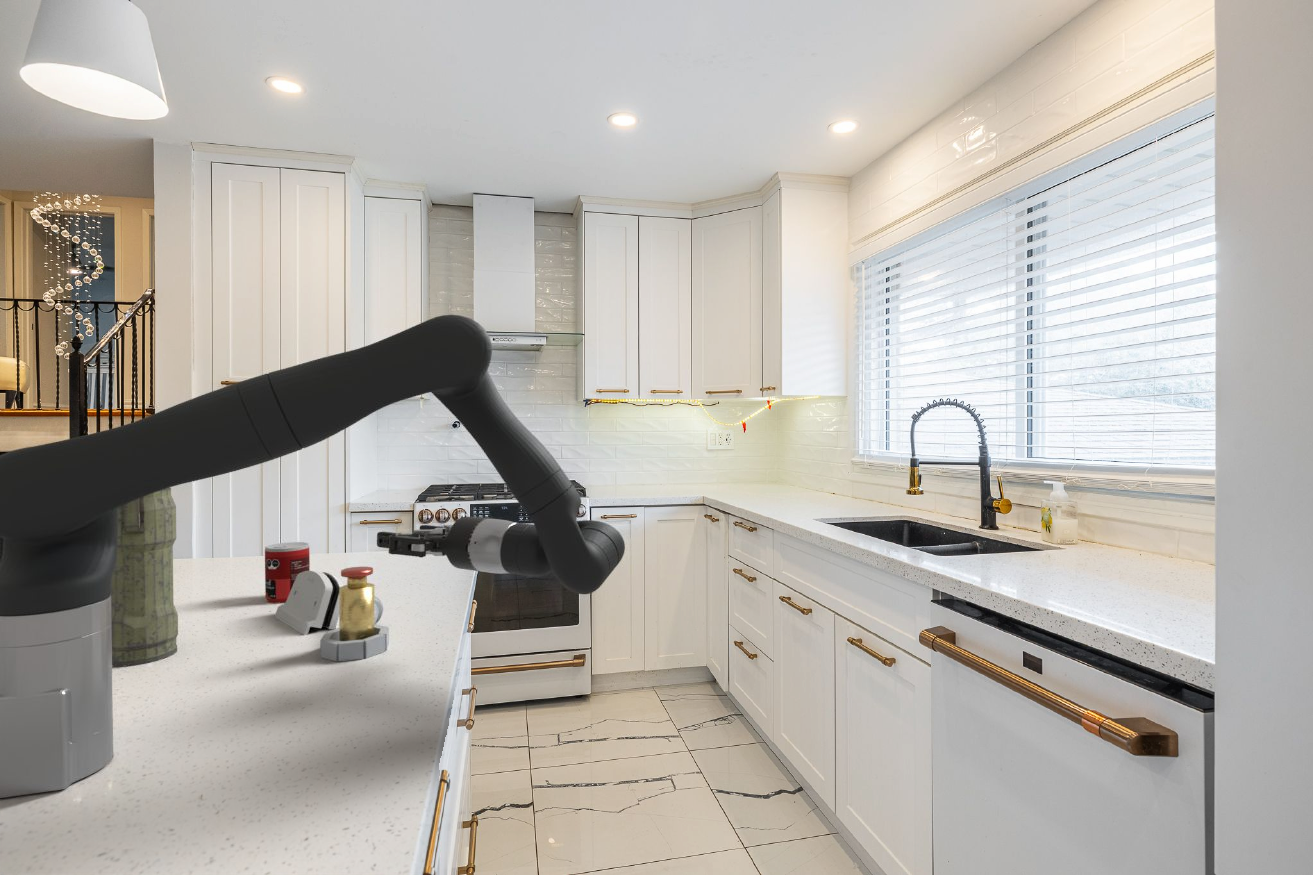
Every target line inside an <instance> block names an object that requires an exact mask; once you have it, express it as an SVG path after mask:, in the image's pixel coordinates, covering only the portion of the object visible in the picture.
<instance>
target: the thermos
mask: <svg viewBox="0 0 1313 875" xmlns="http://www.w3.org/2000/svg"><path fill="white" fill-rule="evenodd" d="M175 503H176V502H175V501H174V498H173V495H172V487H169V488H166V489H163V490H160V491H157V492H154V493H152V494H149V495H146V496H144V497H141V498H139V499H137V500H134V501H132V502H129V503H127V504H125V505H123V506H120V507H118V545H117V560H116V565H115V569H114V572H113V575H112V580H111V620H112V623H111V632H112V667H132V666H138V665H139V666H140V665H144V664H149V663H153V662H157V661H160V660H165V659H167V658H168V657H169V658H170V657H171V656H173V655H175V654H176V653H177V652H178V645H177V637H178V636H179V614H178V611H177V608H176V606H175V604H174V544H175V542H176V540H177V506H176V504H175Z"/></svg>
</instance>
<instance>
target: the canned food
mask: <svg viewBox="0 0 1313 875" xmlns="http://www.w3.org/2000/svg"><path fill="white" fill-rule="evenodd" d="M310 564H311V563H310V544H309V543H308V542H302V541H301V542H300V541H291V542H280V543H274V544H269V545H267V546H265V547H264V582H265V583H264V585H265V586H264V588H265V589H264V590H265V592H264V593H265V595H264V596H265V599H266V601H267V602H268V603H273V604H281V603H282V604H284V603H286V601H287V599H288V596H289V594H290V591H291V589H292V587H293V584H294V582H295V579H296V577H297V575H298V574H299V573H301V572H304V571H311V569H310V566H311V565H310Z"/></svg>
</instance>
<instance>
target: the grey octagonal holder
mask: <svg viewBox="0 0 1313 875" xmlns="http://www.w3.org/2000/svg"><path fill="white" fill-rule="evenodd" d="M383 612H384V605H383V602H382V601H381V600H380V598H379V597H377V596H375V595H374V636H372V637H369V638H366V639H363V640H352V641H339V628H335V629H331V630H329V631H327V632H324V634H323V635H322V637H321V638H320V639H319V640H320V646H319V647H320V650H319V651H320V658H322V659H325V660H329V661H333V662H337V661H338V662H344V661H346V662H347V661H355V660H356V661H357V660H364V659H369V658H371V657H373V656H376V655H378V654H382V653H384V652H386V651H387V650H388V648H389V644H390V630H389V629H390V627H388V626H386V625H380V624H378V622H379V621H380V620H381V618H382V616H383Z"/></svg>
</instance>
